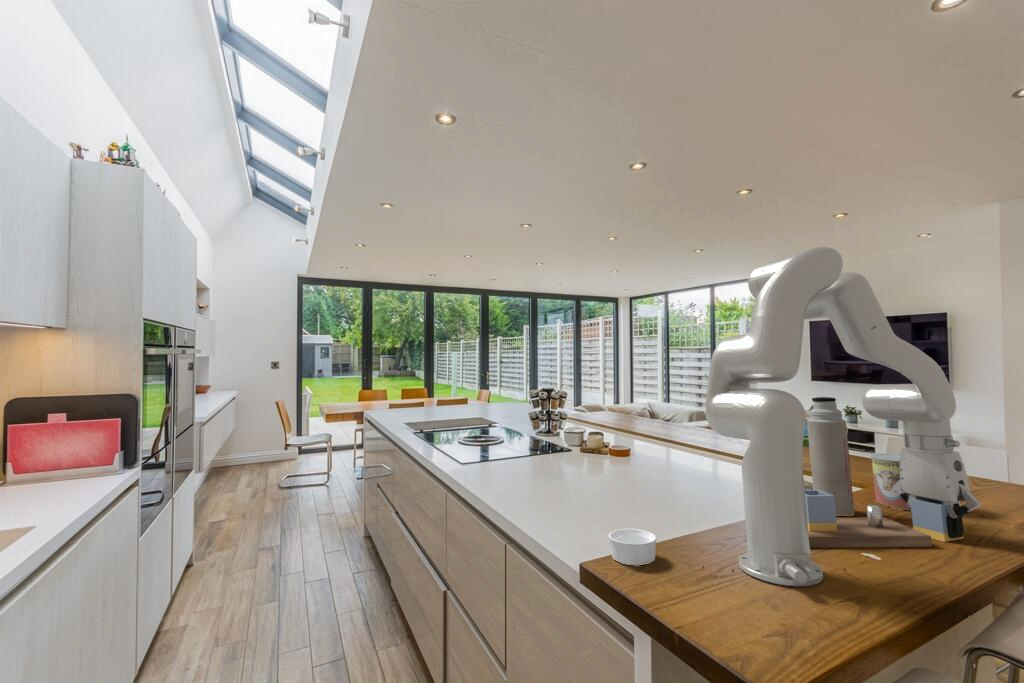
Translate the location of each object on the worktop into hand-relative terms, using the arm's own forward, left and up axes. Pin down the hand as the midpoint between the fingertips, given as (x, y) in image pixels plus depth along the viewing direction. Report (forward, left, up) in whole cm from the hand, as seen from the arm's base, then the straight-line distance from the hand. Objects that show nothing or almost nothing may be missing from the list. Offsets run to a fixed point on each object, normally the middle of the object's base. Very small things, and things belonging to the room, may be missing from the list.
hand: (937, 531), depth 93 cm
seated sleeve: (0, +24, +1) cm, 24 cm away
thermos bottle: (+17, +10, -1) cm, 20 cm away
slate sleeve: (0, 0, -1) cm, 1 cm away
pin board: (0, +18, -1) cm, 18 cm away
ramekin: (-11, +64, -1) cm, 65 cm away
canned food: (+22, -10, -1) cm, 24 cm away
